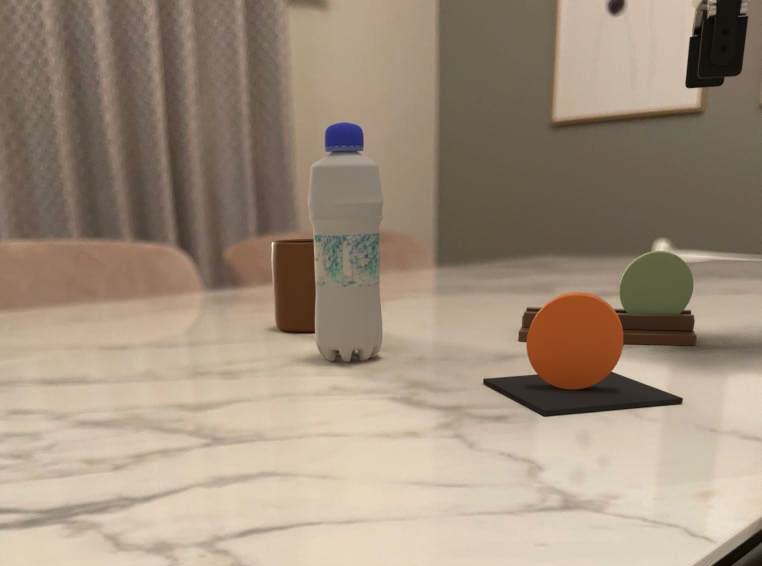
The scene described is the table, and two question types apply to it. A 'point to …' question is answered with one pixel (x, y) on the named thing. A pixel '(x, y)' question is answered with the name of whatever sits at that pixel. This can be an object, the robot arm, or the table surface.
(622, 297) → the green disc
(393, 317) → the table surface
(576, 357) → the orange disc
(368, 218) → the bottle
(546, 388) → the mat
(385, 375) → the table surface
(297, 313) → the mug
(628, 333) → the disc rack
